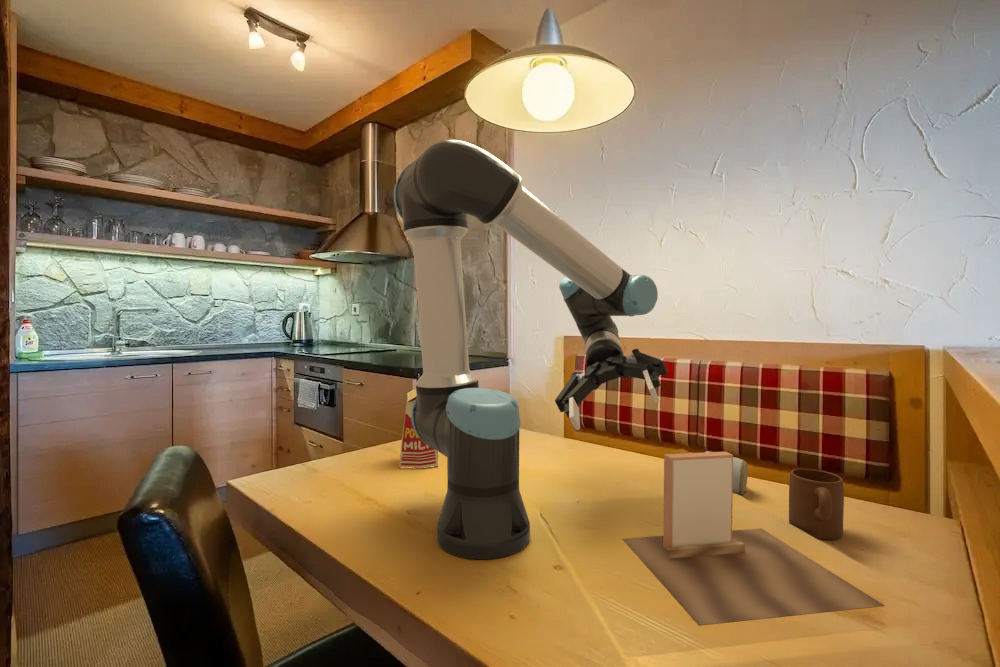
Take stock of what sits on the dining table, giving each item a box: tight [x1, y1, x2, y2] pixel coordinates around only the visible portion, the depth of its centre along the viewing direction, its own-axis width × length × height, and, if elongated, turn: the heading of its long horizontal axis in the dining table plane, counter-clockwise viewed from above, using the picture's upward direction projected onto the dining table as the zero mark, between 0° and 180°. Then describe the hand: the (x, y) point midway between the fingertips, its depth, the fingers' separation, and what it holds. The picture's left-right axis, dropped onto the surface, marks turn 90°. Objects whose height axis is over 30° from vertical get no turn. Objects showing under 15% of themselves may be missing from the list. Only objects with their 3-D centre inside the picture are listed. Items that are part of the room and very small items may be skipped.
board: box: [622, 528, 886, 626], centre depth 65 cm, size 24×21×2 cm
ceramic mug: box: [704, 450, 749, 496], centre depth 98 cm, size 11×8×8 cm
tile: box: [662, 451, 734, 549], centre depth 70 cm, size 10×2×14 cm, turn 99°
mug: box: [788, 468, 845, 541], centre depth 77 cm, size 12×8×9 cm, turn 156°
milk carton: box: [398, 388, 439, 468], centre depth 115 cm, size 9×9×20 cm
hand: (613, 410), depth 76 cm, fingers open, 13 cm apart
